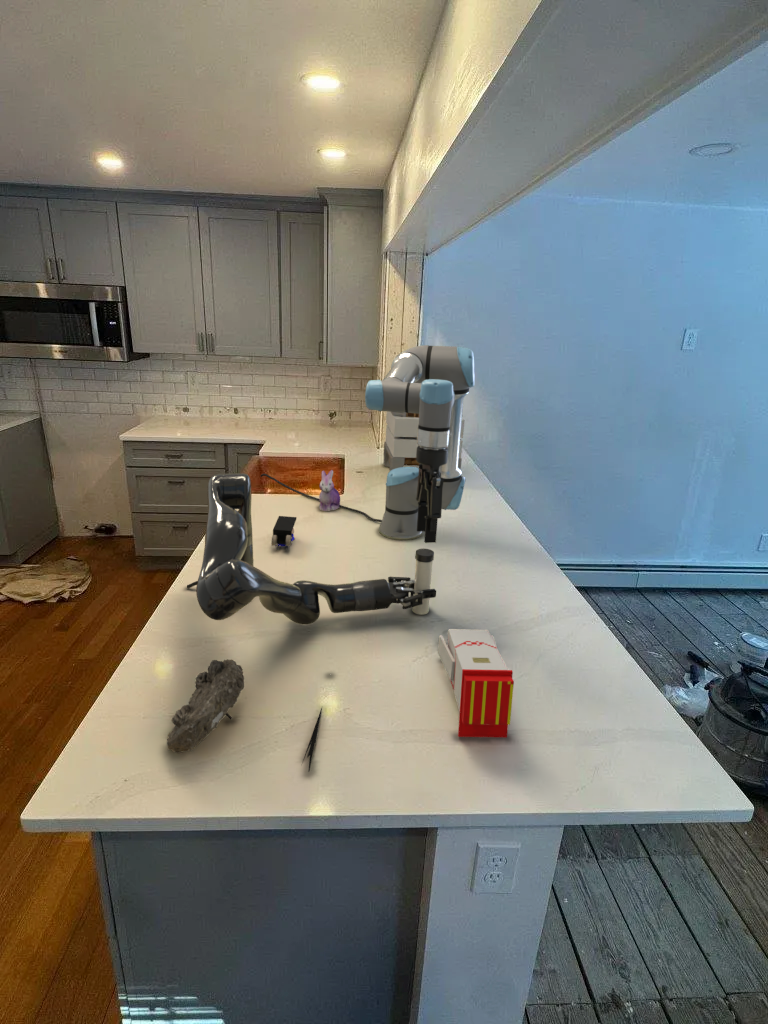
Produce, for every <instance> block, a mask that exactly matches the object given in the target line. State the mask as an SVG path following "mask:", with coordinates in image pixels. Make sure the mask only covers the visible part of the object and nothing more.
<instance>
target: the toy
mask: <svg viewBox="0 0 768 1024" xmlns="http://www.w3.org/2000/svg"><path fill="white" fill-rule="evenodd" d="M446 640H447V643H446V641H445V639H444V636H443V635H442V634H439V637H438V646H437V656H438V657H439V659H440V661H441V663H442V666H443V668H444V670H445V672H446V674H447V677H448V679H449V681H450V684H451V687H452V690H453V693H454V697H455V701H456V705H457V708H458V711H459V714H458V715H459V716H458V730H457V731H458V732H457V737H458V738H508V731H509V726H510V725H511V717H512V707H513V697H514V696H513V695H514V684H515V680H514V679H513V673H514V671H513V670H512V669H508V667H507V665H506V662H505V661H504V659H503V658H502V655H501V653H500V651H499V649H498V647H497V643H496V639H495V637H494V635H493V634H491V632H490V631H489V629H467V628H466V629H465V628H463V629H461V628H460V629H459V628H448V630H447V639H446Z"/></svg>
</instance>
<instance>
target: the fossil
mask: <svg viewBox="0 0 768 1024" xmlns="http://www.w3.org/2000/svg"><path fill="white" fill-rule="evenodd" d="M243 670H244V669H243V667H242V665H240V664H237V662H236V661H235V660H234V659H232V658H231V659H227V658H226V659H224V660H223V661H222V660H217V659H212V660H211V661H210V663H209V665H208V666H207V671H201V672H199V673H198V674H197V675H196V676H195V680H194V684H195V685H194V687H195V689H194V690H193V693H192V694H191V697H190V698H189V700H188V704H184V705H182V706H181V707H180V709H177V710H176V711H175V713H174V715H173V716H172V718H171V723H172V724H173V727H172V730H171V731H170V732H168V734H167V738H166V741H167V742H166V745H167V749H168V750H169V751H173V752H174V753H176V754H178V753H182V752H188V751H189V752H192V751H193V750H195V748H196V747H197V746H199V744H200V743H201V742H203V741H204V740H205V739H206V738H207V737H208V736H209V735H210V734H211V733H212V732H214V730H215V729H217V727H218V726H219V724H220V722H221V721H222V720H223V719H224V718H225V716H226V717H227V719H229V720H233V717H232V715H230V714H229V710H230V709H231V708H234V706H235V704H236V703H237V702H238V699H239V697H240V695H241V693H242V691H243V690H245V689H244V688H245V675H244V671H243Z"/></svg>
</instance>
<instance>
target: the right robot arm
mask: <svg viewBox="0 0 768 1024" xmlns="http://www.w3.org/2000/svg"><path fill="white" fill-rule="evenodd" d="M474 356H475V355H474V351H473V350H472V349H471V348H469V347H464V346H463V347H462V346H453V345H451V346H450V345H429V344H425V345H423V344H422V345H417V346H416V345H415V346H412V347H410V348H407V349H405V350H403V351H401V352H400V353H399V354H397V355H396V356H395V357H394V359H393V360H392V362H391V364H390V365H391V366H390V369H389V371H388V372H387V373H386V375H385V376H384V378H382V380H381V379H370V380H368V382H367V384H366V387H365V395H364V400H365V406H366V408H367V409H368V410H370V411H378V412H387V411H388V412H404V413H416V414H419V425H418V433H417V444H418V445H419V446H418V447H417V451H416V461H417V462H418V463H419V466H418V467H417V466H404V467H400V468H396V469H393V470H391V471H390V470H389V472H388V473H387V475H386V482H385V504H384V505H385V507H384V508H385V509H384V513H383V515H382V519H379V518H374V517H371V516H370V515H368V514H367V513H366V512H364V511H363V510H362V511H361V510H359V509H356V508H351V507H348V506H345V505H341V504H340V506H339V508H341V509H343V510H348V511H351V512H355V513H357V514H361V515H363V516H364V517H366V518H367V519H368V520H370V521H372V522H375V523H376V522H377V523H379V527H378V533H379V534H380V535H381V536H382V537H385V538H387V539H389V540H395V541H410V540H415V539H418V538H420V537H421V536H422V535H423V532H424V539H423V540H424V541H423V542H424V543H425V544H429V543H430V544H432V543H437V531H438V521H439V519H441V518H442V510H444V511H447V510H450V511H456V510H457V509H459V508H460V505H461V501H462V498H463V493H464V488H465V484H466V477H465V476H463V474H462V469H461V470H460V469H459V468H458V457H459V445H460V439H461V438H460V434H461V422H462V419H463V408H464V398H465V397H466V396H467V395H468V394H469V392H470V388H473V387H475V358H474ZM260 477H261V478H262V477H266V478H268V479H270V480H273V481H274V482H276V483H277V484H279V485H281V486H283V487H284V488H286V489H288V490H290V491H291V492H294V493H297V494H298V495H301V496H303V497H306V498H309V499H311V500H314V501H317V502H320V501H319V498H318V497H316V496H312V495H309V494H307V493H304V492H302V491H299V490H297V489H295V488H292V487H290V486H289V485H287V484H285V483H283V482H281V481H280V480H278V479H276V478H275V477H272V475H271V476H270V475H269V474H266V473H262V474H261V475H260Z"/></svg>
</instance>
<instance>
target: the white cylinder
mask: <svg viewBox="0 0 768 1024" xmlns="http://www.w3.org/2000/svg"><path fill="white" fill-rule="evenodd" d="M433 561H434V560H433ZM433 561H431V562H420V561H417V560H416V559H415V566H414V567H415V569H414V579H413V580H414V590H426V589H432V588H431V585H432V575H433V574H432V573H433V564H434V563H433ZM414 595H417V594H414ZM414 595H413V596H414ZM430 599H431V598H426V599H423V604H421V605H418V606H415V607H412V612H413V613H414V614H415V615H422V616H423V615H426V614H428V613H429V612H430Z"/></svg>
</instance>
